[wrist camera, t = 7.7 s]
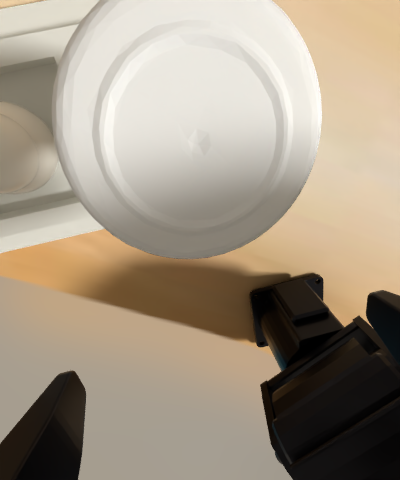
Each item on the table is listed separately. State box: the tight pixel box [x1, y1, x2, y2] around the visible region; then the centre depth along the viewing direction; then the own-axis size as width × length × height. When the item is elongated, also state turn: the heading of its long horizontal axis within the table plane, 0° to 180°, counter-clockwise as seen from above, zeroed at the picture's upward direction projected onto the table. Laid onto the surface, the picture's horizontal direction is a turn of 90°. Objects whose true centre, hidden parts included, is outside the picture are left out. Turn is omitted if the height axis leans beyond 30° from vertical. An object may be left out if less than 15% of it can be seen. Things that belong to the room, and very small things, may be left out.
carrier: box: [0, 0, 105, 253], centre depth 16 cm, size 12×18×3 cm, turn 101°
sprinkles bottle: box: [51, 0, 322, 259], centre depth 10 cm, size 5×5×14 cm
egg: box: [0, 101, 59, 194], centre depth 14 cm, size 4×4×5 cm
